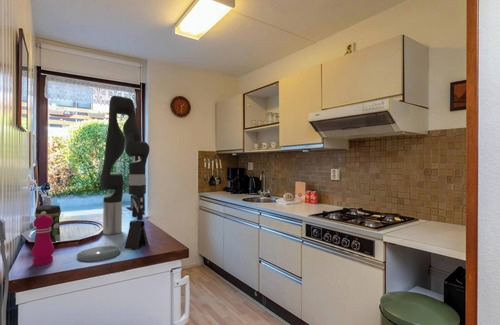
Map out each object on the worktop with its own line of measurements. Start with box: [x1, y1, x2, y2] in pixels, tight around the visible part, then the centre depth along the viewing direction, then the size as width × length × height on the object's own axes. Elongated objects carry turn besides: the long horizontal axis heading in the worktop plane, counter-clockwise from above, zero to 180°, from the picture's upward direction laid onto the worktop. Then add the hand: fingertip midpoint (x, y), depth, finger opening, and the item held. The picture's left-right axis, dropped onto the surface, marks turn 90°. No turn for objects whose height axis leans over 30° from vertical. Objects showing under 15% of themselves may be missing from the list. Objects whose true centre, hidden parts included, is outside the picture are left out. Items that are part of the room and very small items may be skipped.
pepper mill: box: [30, 211, 55, 266], centre depth 106 cm, size 7×7×20 cm
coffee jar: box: [34, 204, 62, 243], centre depth 130 cm, size 10×8×19 cm
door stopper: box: [124, 219, 149, 250], centre depth 128 cm, size 9×6×12 cm, turn 163°
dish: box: [76, 245, 121, 263], centre depth 116 cm, size 16×16×1 cm
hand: (137, 218), depth 128 cm, fingers open, 8 cm apart
